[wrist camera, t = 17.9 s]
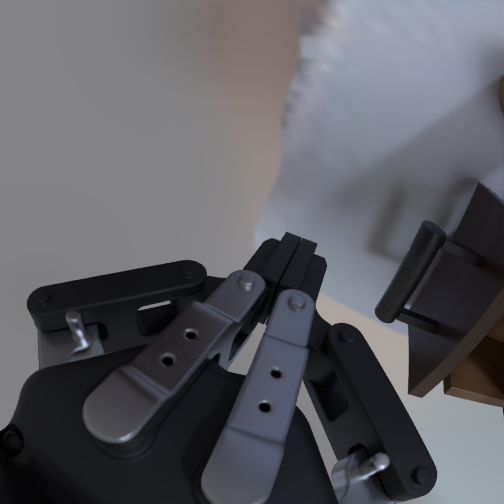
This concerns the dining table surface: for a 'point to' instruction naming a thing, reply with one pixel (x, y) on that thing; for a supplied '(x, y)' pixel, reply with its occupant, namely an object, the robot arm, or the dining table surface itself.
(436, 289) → the drawer
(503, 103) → the tan wooden cylinder
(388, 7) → the dining table surface
